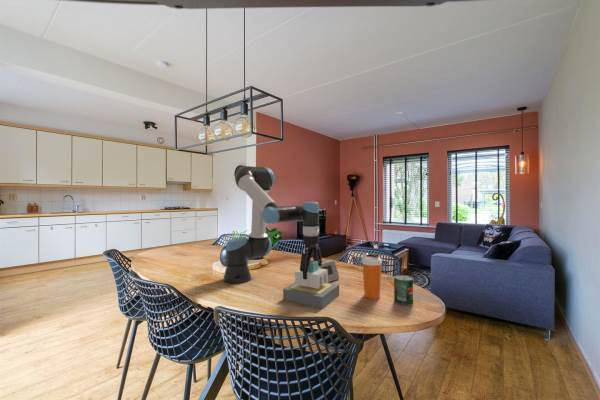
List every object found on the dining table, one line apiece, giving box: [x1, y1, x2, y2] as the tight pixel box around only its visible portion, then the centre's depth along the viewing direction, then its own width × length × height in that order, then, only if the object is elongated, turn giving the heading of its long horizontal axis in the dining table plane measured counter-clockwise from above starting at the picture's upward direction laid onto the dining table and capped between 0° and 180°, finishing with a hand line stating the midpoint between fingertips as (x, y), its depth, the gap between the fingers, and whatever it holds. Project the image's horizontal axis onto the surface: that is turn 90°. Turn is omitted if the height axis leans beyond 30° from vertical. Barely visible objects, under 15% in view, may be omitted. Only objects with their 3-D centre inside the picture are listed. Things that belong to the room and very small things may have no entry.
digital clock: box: [320, 259, 340, 283], centre depth 150 cm, size 16×9×11 cm, turn 122°
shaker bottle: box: [361, 252, 383, 300], centre depth 127 cm, size 9×9×20 cm
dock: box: [282, 282, 340, 310], centre depth 126 cm, size 20×18×5 cm
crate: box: [308, 259, 318, 272], centre depth 126 cm, size 5×5×4 cm
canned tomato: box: [393, 274, 414, 307], centre depth 120 cm, size 8×8×11 cm
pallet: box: [294, 268, 328, 289], centre depth 126 cm, size 12×10×6 cm
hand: (311, 282), depth 126 cm, fingers closed on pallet, 10 cm apart
